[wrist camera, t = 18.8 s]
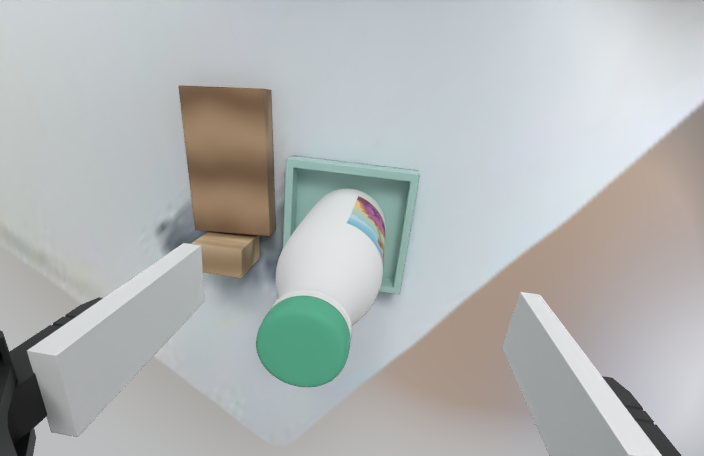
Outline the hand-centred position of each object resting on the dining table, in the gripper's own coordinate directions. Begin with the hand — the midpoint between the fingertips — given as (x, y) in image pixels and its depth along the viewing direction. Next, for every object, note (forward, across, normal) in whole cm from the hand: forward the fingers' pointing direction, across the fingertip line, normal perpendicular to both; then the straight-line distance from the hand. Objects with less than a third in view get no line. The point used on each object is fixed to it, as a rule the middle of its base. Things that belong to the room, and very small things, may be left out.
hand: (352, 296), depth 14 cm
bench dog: (+21, -14, -9) cm, 27 cm away
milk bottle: (+21, -2, -5) cm, 22 cm away
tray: (+21, -2, -5) cm, 22 cm away
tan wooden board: (+22, -14, 0) cm, 26 cm away
